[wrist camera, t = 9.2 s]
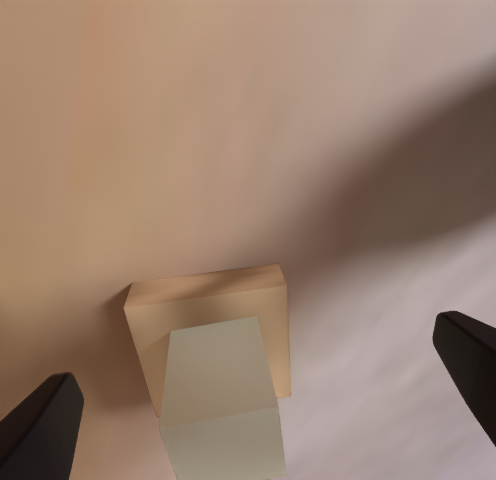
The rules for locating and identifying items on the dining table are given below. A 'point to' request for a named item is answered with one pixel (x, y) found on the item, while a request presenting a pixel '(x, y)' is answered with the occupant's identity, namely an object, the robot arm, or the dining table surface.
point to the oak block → (209, 317)
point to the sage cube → (221, 404)
